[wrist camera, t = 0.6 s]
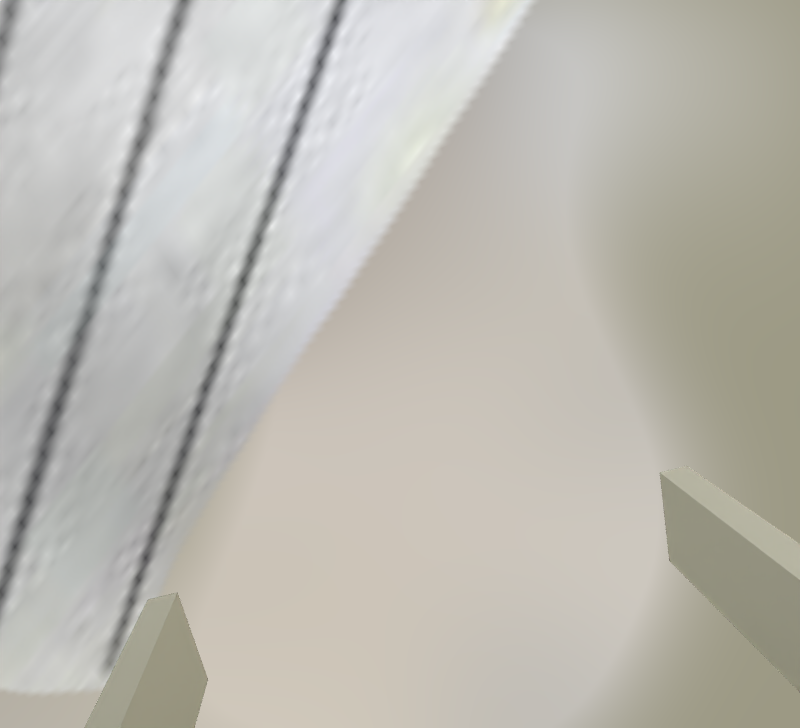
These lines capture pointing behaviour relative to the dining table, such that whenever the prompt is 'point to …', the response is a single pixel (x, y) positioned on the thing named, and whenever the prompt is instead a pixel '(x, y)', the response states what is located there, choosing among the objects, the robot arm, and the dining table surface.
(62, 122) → the dining table surface
